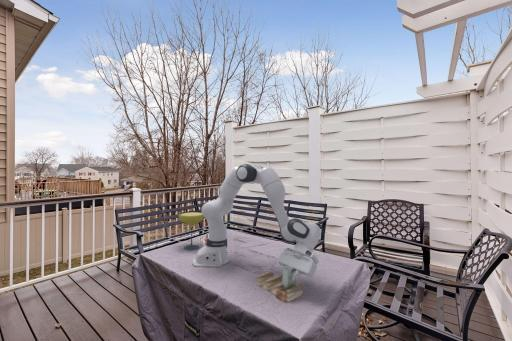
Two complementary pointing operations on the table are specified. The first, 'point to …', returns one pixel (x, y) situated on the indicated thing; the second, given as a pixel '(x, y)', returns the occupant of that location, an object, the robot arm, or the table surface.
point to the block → (288, 278)
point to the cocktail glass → (191, 223)
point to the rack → (278, 287)
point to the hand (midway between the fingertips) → (288, 277)
